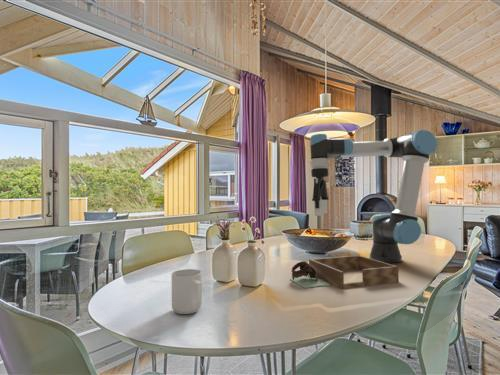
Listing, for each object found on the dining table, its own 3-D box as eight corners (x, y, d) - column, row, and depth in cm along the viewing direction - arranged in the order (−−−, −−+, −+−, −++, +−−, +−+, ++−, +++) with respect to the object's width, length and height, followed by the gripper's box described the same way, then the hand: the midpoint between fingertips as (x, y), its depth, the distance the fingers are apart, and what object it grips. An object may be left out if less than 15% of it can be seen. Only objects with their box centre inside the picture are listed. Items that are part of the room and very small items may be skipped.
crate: (359, 268, 145) (358, 255, 145) (398, 281, 122) (398, 266, 122) (309, 273, 137) (309, 259, 137) (341, 288, 114) (341, 272, 114)
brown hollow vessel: (321, 284, 119) (311, 266, 118) (298, 294, 120) (289, 276, 119) (316, 269, 131) (307, 253, 129) (296, 279, 132) (287, 262, 131)
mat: (314, 277, 130) (314, 276, 130) (330, 285, 119) (330, 284, 119) (290, 279, 126) (290, 278, 127) (304, 288, 115) (304, 287, 115)
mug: (166, 309, 95) (166, 272, 95) (191, 302, 101) (191, 267, 101) (186, 320, 86) (186, 280, 87) (213, 312, 92) (213, 274, 92)
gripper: (317, 170, 156) (319, 212, 156) (304, 167, 134) (306, 216, 133) (332, 169, 153) (334, 212, 153) (322, 166, 130) (323, 216, 130)
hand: (321, 214), depth 143 cm, fingers open, 13 cm apart
